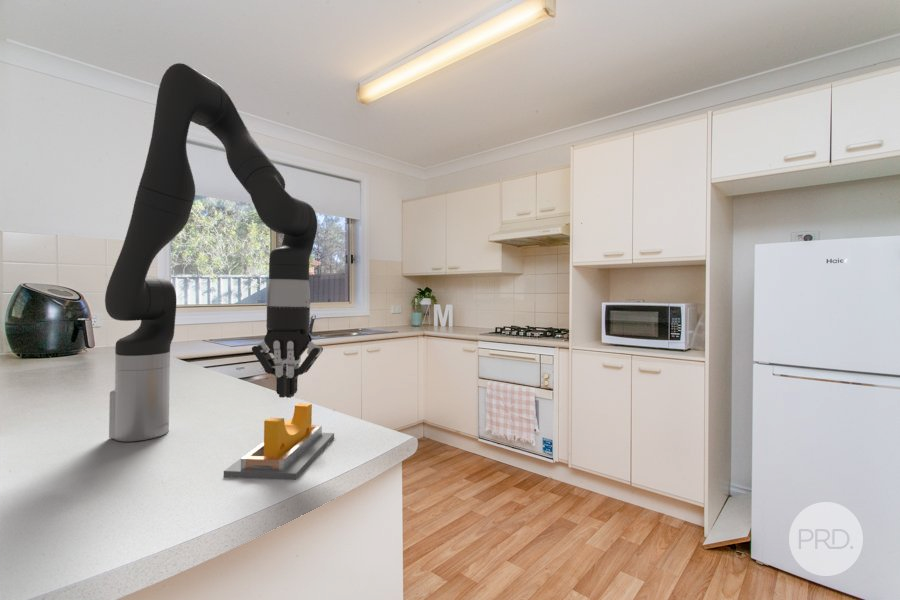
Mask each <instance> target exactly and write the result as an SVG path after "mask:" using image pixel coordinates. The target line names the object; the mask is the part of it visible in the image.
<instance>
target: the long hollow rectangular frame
mask: <svg viewBox="0 0 900 600" xmlns="http://www.w3.org/2000/svg"><path fill="white" fill-rule="evenodd" d="M322 428H323V425H321V424H319V425H318V424H316V425H315V424H311V432H310V433H309V434H308V435H307V436H305V437H304V438H303V439H302V440H301V441H300V442H299V443H298V444H296V445H295V446H294V447H293V448H292V449H291V450H290V451H288V452H287V453H285V454H284V455H283V456H281V457H264V456H263V455H264V441H263V442H262V444H261V443H260V444H258V445H257V446H258V447H257V446H255V447H254V448H253V449H251V452H250V451H249V452H248V453H246V454H247V455H246V454H245V455H244V456H242V457H240V459H241V469H242V470H270V471H284V470H285V469H286V468H287V467H288V466H289V465H290V464H291V463H292V462H293V461H294V460H295V459H296V458H297V457H298V456H300V455H301V454H302V453H303V452H304V451H305V450H306V449H307V448H308V447H309V446H310V445H311V444H312V443H313V442H314V441H315V440H316V439H317V438H318V437H319V436H320V435H321V434H322V433H323V429H322Z"/></svg>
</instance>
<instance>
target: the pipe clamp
mask: <svg viewBox="0 0 900 600" xmlns="http://www.w3.org/2000/svg"><path fill="white" fill-rule="evenodd" d="M312 406H313V403H304V402H303V403H301V402H298V403H297V404H295V405H294V412H293V416H292V418H290V419H288V420H286V421H285V418H284V417H283V418H282V417H269V418H267V419H265V420H264V421H263V425H264V427H263V442H264V457H281V456H283V455H284V454H285V453H287V452H288V451H290V450H291V449H292V448H293V447H294V446H295V445H296V444H298V443H299V442H300V441H301V440H302V439H303V438H304V437H305V436H307V435H308V434H309V433H310V432H311V425H312V412H313V411H312V408H313V407H312Z"/></svg>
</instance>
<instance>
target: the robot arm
mask: <svg viewBox="0 0 900 600" xmlns="http://www.w3.org/2000/svg"><path fill="white" fill-rule="evenodd" d="M191 122H192V123H193V124H196V125H198V126H201V127H204V128H206V129H207V130H209V131H210V133H212V134H213V135H214V136H215V137H216V138H217V139H218V140H219V141H220V142H221V144H222V145H223V147H224V149H225V155H226V160H227V164H228V167H229V169H230V170H231V172H232V173H233V176H235V178H236V179H237V180H238V181H239V183H240V184H241V185H242V187H243V188H244V190H245V191H246V192H247V193H248V194H249V196H250V199H251V201H252V204H253V206H254V208H255V211H256V212H257V215H258V217H259V218H260V220H261V222H262V223H263V224H264V225H265V226H266V227H267V228H269V230H271V231H273V232H275V233H279V234H281V235H282V234H283V239H282V243H281V246H280V247H275V248H274V249H272V250H271V252H270V254H269V260H268V261H269V262H268V285H267V291H266V324H265V325H266V334H265V336H264V340H263V341H262V342H260V343H259V344H257V345H254V346H252V347H251V351H252V353H253V354H254V355H255V357H256V359H257V360H258V362H259V363H260V365H261V367H262V368H263V369H264V371H265V372H266V374H268V375H270V374H271V375H273V376H275V378H276V394H277V395H278V397H279V398H287V399H290V398H293V397H294V396H295V394H297V392H298V380H299V379H298V377H299V376H301V375H303V374H305V373H307V372H308V371H309V370H310V369H311V368H312V366H313V365H314V364H315V362H316V360H317V359H318V358H319V357H320V356H321V354H322V352H324V348H323V347H322V346H321V345H319V346H318V345H317V344H316V343H314V342H313V341H312V340H313V339H312V336H311V334H310V326H311V325H310V322H311V321H310V319H311V317H310V315H311V314H310V313H311V310H310V309H311V303H312V302H311V288H310V257H311V255H312V252H313V251H312V250H313V249H314V243H315V240H316V236H317V232H318V217H317V213H316V210H315V209H314V208H313V206H312V205H310V204H309V203H308V202H305V201H303V200H301V199H298V198H297V197H294V196H291V195H290V193H288V191H286V190H285V189H286V181H285V179H284V177H283V176H282V174H281V172H280V171H279V170H278V168H277V167H276V166H275V165H274V164H273V162H272V161H271V160H270V159H269V157H268V156H267V155H266V153H265V152H264V150H263V149H262V148H261V147H260V145H259V144H258V142H257V141H256V140H255V139H254V137H253V136H252V134H251V132H250V130H249V129H248V127H247V126H246V123H245V122H244V120H243V119H242V117H241V115H240V113H239V112H238V109H237V108H236V105H235V104H234V102H233V100H232V99H231V96H230V95H229V93H228V92H227V90H226V89H225V88H224V87H223V86H222V85H221V84H219V83H218V82H216V81H215V80H213V79H212V78H210V77H209V76H207V75H205V74H204V73H202V72H200V71H198V70H197V69H195V68H193V67H192V66H190V65H189V64H186V63H183V62H182V63H181V62H178V63H174V64H172V65H171V66H169V67H168V68H167V69H166V71H165V72H164V74H163V75H162V77H161V81H160V84H159V87H158V91H157V98H156V103H155V111H154V119H153V125H152V132H151V138H150V143H149V147H148V151H147V155H146V160H145V164H144V168H143V172H142V175H141V178H140V181H139V185H138V187H137V191H136V195H135V199H134V203H133V208H132V211H131V217H130V220H129V224H128V227H127V228H128V229H127V231H126V236H125V238H124V241H123V243H122V244H123V245H122V247H121V250H120V253H119V255H118V258H117V260H116V262H115V265H114V267H113V269H112V272H111V275H110V277H109V280H108V283H107V286H106V290H105V295H104V297H105V298H104V304H105V309H106V310H105V311H106V312H107V314H108V315H109V317H110V318H112V319H113V320H116V321H122V322H124V321H125V322H130V321H135V322H136V321H140V323H139V324H140V325H139V327H138V328H137V329H136V330H134V331H133V332H131V333H130V334H128V335H125V336H123V337H121V338H119V339H118V340H117V341H116V343H115V348H114V350H115V355H114V356H115V359H114V389H113V390H111V391H110V392H109V407H108V409H109V412H108V414H109V415H108V416H109V418H108V420H109V421H108V423H109V424H108V438H109V439H113V440H115V441H118V442H140V441H145V440H151V439H155V438H159V437H162V436H163V435H166V434H167V433H168V432H169V431H170V382H171V381H170V379H171V378H170V377H171V376H170V374H171V345H172V341H173V340H174V336H175V329H176V327H175V326H176V316H177V315H176V313H177V293H176V289H175V285H174V284H173V283H172V282H171V280H169V279H167V278H165V277H162V276H161V277H160V276H151V275H150V276H149V275H148V272H149V271H150V268H151V265H152V263H153V261H154V260H155V258H156V256H157V255H158V254H159V253H160V252H161V250H162V249H164V247H166V246H167V245H168V244H169V243H170V242H171V241H173V240H174V239H175V238H176V236H177V235H178V234H180V233H181V232H182V231H183V229H184V228H185V227H186V225H187V223H188V222H189V219H190V215H191V211H192V208H193V205H194V201H195V196H196V184H195V180H194V176H193V175H194V174H193V172H192V171H193V170H192V168H191V165H190V162H189V157H188V153H187V152H188V151H187V142H188V141H187V140H188V136H189V135H188V134H189V129H190V125H191ZM147 275H148V276H147ZM306 350H307V351H306ZM305 351H306V353H307V356H306V357H305V359H304V360H303V361H302V360H301V359H302V358H301V357H302V355H303V354H304V353H305ZM269 352H270V353H272V355H273V357H272V355H271V354H270V353H269ZM301 361H302V362H301ZM300 363H301V364H300Z"/></svg>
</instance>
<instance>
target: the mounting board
mask: <svg viewBox="0 0 900 600" xmlns="http://www.w3.org/2000/svg"><path fill="white" fill-rule="evenodd" d="M334 439H335V432H322V434H321V435H320V436H319V437H318V438H317V439H316V440H315V441H314V442H313V443H312V444H311V445H310V446H309V447H308V448H307V449H306V450H305V451H304V452H303V453H302V454H301V455H300V456H298V457H297V458H296V459H295V460H294V461H293V462H292V463H291V464H290V465H289V466H288V467H287V468H286V469H285V470H284V471H270V470H242V469H241V458H239V459H238V460H237V461H235V462H234V463H232V464H231V465H230V466H228V467H227V468H226V469H223V478H239V479H240V478H241V479H243V478H244V479H265V480H266V479H267V480H269V479H270V480H293V481H294V480H295V481H296V480H297V479H298V478H299V477H300V476H301V474H303V472H305V471H306V469H308V467H309V466H310V465H311V464H312V463H313V461H314V460H315V459H316V458H317V457H318V456H320V454H321V453H322V452H323V451H324V449H326V447H327V446H328V445H329V444H330V443H331V442H332V441H333V440H334ZM262 443H263V442H262ZM262 443H260V444H262ZM258 446H259V445H257V446H256V447H258ZM251 451H252V450H251ZM251 451H249V452H251ZM247 454H248V453H246V454H245V455H247ZM263 456H264V455H263Z"/></svg>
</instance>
